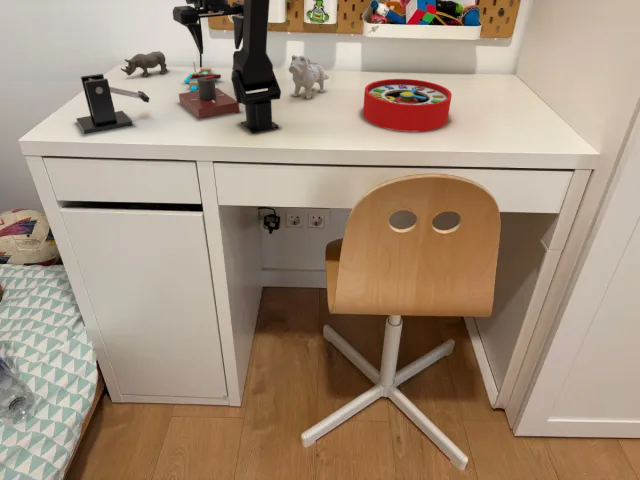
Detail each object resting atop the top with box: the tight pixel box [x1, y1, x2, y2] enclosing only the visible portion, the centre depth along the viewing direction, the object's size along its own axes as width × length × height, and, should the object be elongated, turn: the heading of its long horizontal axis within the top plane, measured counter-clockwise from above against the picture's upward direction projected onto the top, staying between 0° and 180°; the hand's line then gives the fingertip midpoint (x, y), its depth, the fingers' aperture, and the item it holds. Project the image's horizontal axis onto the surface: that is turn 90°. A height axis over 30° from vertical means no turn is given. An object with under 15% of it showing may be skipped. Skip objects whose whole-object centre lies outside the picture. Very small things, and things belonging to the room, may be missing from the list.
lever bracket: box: [75, 73, 133, 135], centre depth 106 cm, size 10×8×10 cm
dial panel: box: [178, 87, 240, 120], centre depth 118 cm, size 13×10×3 cm
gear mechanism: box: [184, 61, 222, 92], centre depth 135 cm, size 20×5×9 cm
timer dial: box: [197, 76, 217, 100], centre depth 116 cm, size 4×4×5 cm
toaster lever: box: [88, 78, 150, 103], centre depth 107 cm, size 12×5×2 cm, turn 122°
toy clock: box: [362, 78, 453, 133], centre depth 115 cm, size 20×6×20 cm
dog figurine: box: [288, 54, 325, 100], centre depth 125 cm, size 5×13×11 cm, turn 150°
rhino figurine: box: [120, 50, 168, 78], centre depth 139 cm, size 4×14×6 cm, turn 130°
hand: (219, 51), depth 117 cm, fingers open, 9 cm apart
